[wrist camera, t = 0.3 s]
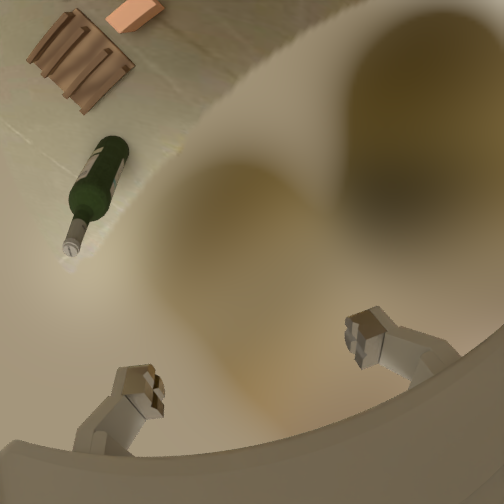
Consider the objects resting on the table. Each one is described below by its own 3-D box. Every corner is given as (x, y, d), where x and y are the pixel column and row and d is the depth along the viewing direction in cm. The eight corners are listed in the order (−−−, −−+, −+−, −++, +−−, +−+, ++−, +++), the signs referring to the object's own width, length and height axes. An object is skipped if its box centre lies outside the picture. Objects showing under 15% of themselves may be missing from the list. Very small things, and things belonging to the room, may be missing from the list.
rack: (33, 59, 29) (23, 64, 26) (77, 8, 25) (68, 8, 22) (88, 111, 43) (81, 119, 40) (135, 65, 39) (130, 69, 36)
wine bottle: (98, 133, 47) (43, 227, 28) (132, 137, 50) (93, 235, 31) (95, 163, 52) (51, 264, 33) (126, 168, 56) (95, 272, 36)
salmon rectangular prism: (123, 19, 30) (105, 19, 23) (153, -4, 28) (141, -11, 21) (134, 31, 33) (119, 33, 26) (165, 8, 31) (156, 4, 24)
